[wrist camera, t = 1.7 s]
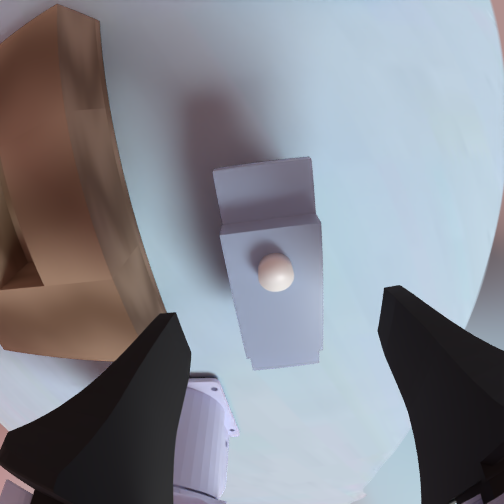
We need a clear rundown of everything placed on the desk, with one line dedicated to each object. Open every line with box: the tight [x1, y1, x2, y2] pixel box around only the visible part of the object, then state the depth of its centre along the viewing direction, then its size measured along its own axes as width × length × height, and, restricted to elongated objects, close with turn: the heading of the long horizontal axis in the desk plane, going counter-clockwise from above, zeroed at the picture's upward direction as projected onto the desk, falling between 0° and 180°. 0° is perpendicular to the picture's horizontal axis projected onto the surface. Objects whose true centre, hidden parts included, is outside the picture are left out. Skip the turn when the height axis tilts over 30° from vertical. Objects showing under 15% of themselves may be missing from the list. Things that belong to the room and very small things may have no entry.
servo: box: [212, 157, 323, 370], centre depth 13 cm, size 10×3×6 cm, turn 8°
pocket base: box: [0, 4, 167, 362], centre depth 12 cm, size 18×14×4 cm
